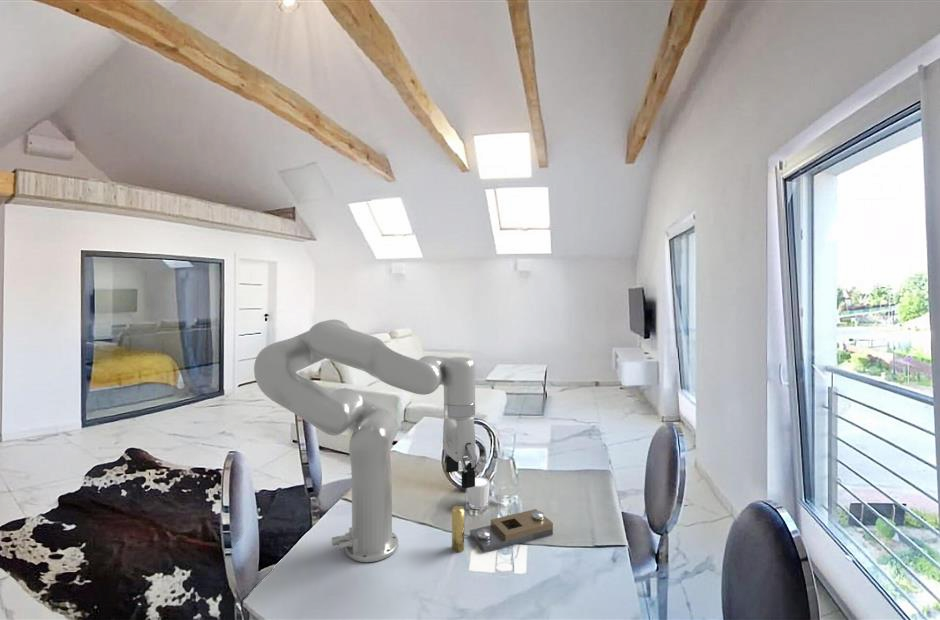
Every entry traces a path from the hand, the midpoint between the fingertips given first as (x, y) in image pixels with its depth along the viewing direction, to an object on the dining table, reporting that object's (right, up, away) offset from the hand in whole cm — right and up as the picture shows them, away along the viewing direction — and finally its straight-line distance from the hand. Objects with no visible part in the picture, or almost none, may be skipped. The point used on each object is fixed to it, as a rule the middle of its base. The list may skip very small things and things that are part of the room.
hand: (460, 479), depth 108 cm
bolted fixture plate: (+13, -17, +7) cm, 23 cm away
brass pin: (-1, -17, +1) cm, 17 cm away
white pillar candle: (+5, -17, +23) cm, 29 cm away
